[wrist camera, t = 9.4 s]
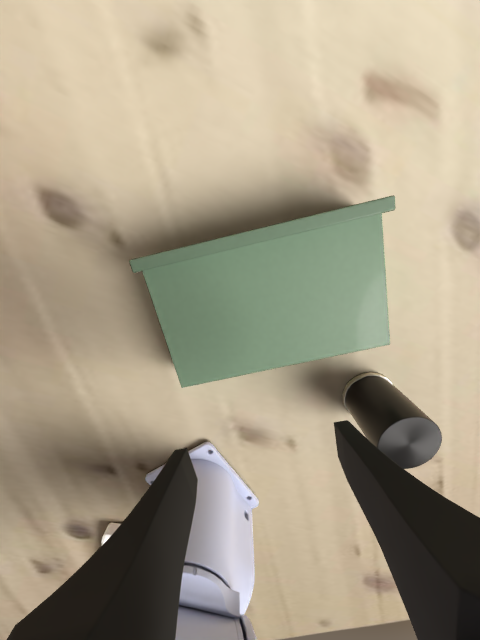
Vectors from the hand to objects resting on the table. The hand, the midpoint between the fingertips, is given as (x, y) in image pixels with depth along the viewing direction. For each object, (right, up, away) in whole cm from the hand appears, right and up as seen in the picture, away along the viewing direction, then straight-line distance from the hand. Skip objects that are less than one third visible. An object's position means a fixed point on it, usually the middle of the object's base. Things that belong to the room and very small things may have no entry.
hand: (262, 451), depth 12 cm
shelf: (+1, +8, +8) cm, 12 cm away
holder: (+11, 0, +11) cm, 15 cm away
